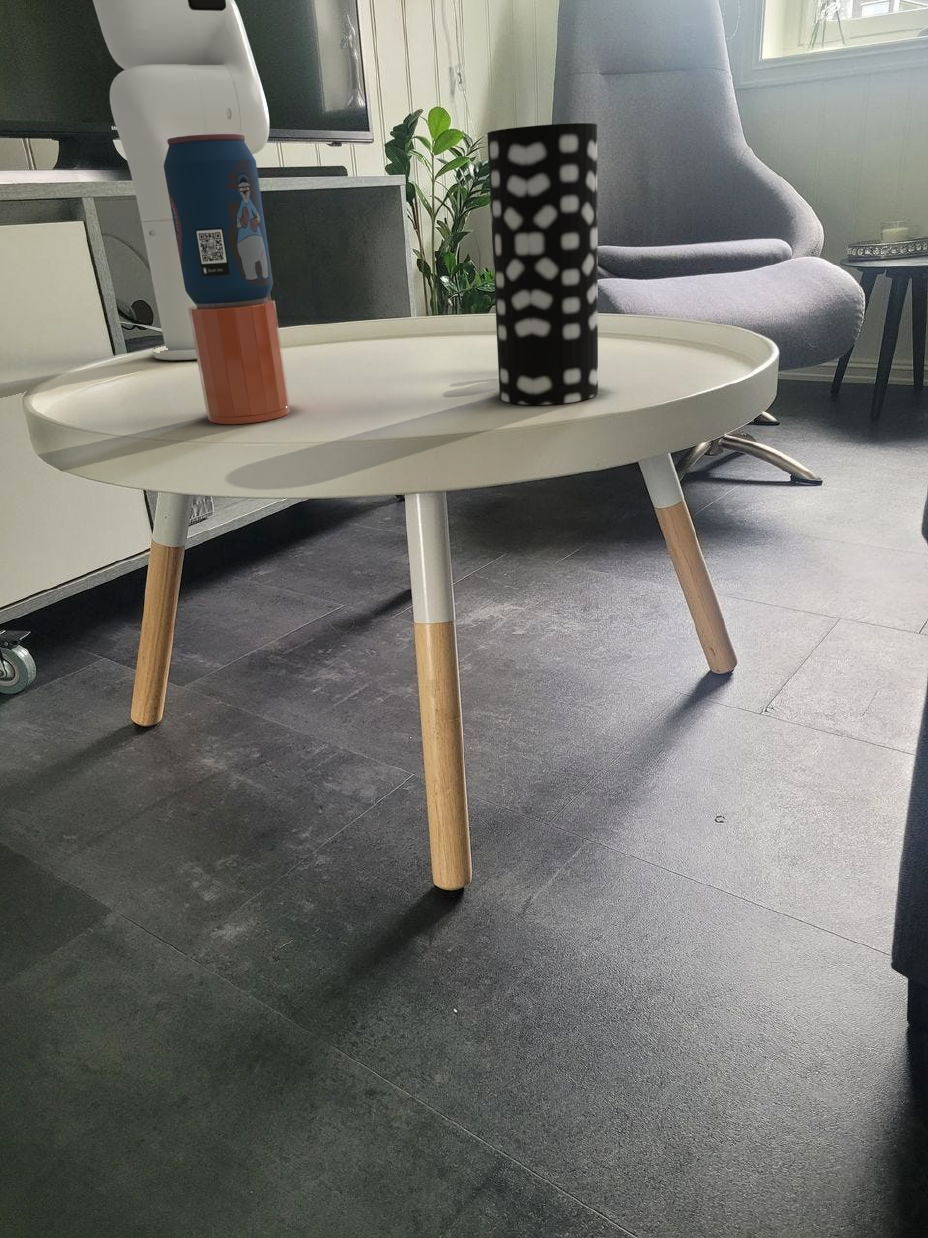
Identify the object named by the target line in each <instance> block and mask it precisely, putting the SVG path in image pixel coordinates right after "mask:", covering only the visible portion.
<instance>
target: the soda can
mask: <svg viewBox="0 0 928 1238" xmlns="http://www.w3.org/2000/svg"><path fill="white" fill-rule="evenodd" d="M244 141H245V137H244V135H239V134H208V135H192V136H182V137H174V138H170V139H168V140H167V142H168V145H169V148H168V151H167V155H166V158H165V162H164V171H165V177H166V183H167V189H168V194H169V200H170V206H171V212H172V217H173V223H174V229H175V234H176V240H177V246H178V252H179V257H180V263H181V269H182V274H183V280H184V286H185V291H186V292H187V294H188V295H189V297H190V298H191V299H192V301H193V302H194V303H195V305H196V306H197V307H198V308H223V307H236V306H245V305H253V304H259V303H264V302H266V301H267V300H269V296H270V294H271V291H272V289H273V286H274V285H273V284H274V280H273V274H272V272H273V271H272V266H271V257H270V250H269V243H268V237H267V236H268V235H267V230H266V223H265V217H264V209H263V203H262V194H261V188H260V181H259V180H260V179H259V174H258V167H257V161H256V159H255V157H254V156H253V155H254V154H252V153H251V152H250V150H249V149H248V147H247V145H246V144H245V142H244Z"/></svg>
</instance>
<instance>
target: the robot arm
mask: <svg viewBox="0 0 928 1238" xmlns="http://www.w3.org/2000/svg"><path fill="white" fill-rule="evenodd" d="M92 3H93V6H94V9H95V13H96V15H97V16H96V17H97V20H98V23H99V26H100V30H101V33H102V36H103V39H104V42H105V44H106V47H107V49H108V52H109V54H110V56H111V57H112V59H113V60H114V62H115V63H116V64H117V65H118V66H119V67H120V68H122V69H123V70H122V71H120V72H119V73H118V74H117V75H116V76H115V77H114V78H113V80H112V82H111V85H110V87H109V88H110V89H109V105H110V110H111V114H112V118H113V121H114V125H115V127H116V131H117V134H118V136H119V140H120V143H121V146H122V148H123V149H122V150H123V152H124V155H125V158H126V161H127V166H128V168H129V171H130V176H131V180H132V184H133V188H134V194H135V198H136V201H137V202H136V203H137V206H138V207H137V208H138V212H139V218H140V223H141V228H142V232H143V239H144V243H145V248H146V249H145V250H146V255H147V258H148V264H149V270H150V275H151V280H152V285H153V292H154V295H155V301H156V307H157V312H158V317H159V323H160V328H161V332H162V338H163V344H160V345H157V346H154V347H153V348H158V347H161V346H166V348H168V350H164V351H160V353H156V352H153V351H152V354H153V358H154V359H158V360H162V361H190V360H197V356H196V350H195V345H194V339H193V333H192V328H191V322H190V317H189V311H188V308H190V307H192V306H196V305H195V303H194V302H193V301H192V299H191V298H190V297H189V295H188V294H187V292H186V291H185V286H184V280H183V274H182V269H181V263H180V257H179V252H178V246H177V240H176V234H175V229H174V223H173V217H172V212H171V206H170V200H169V194H168V189H167V183H166V177H165V171H164V162H165V158H166V155H167V151H168V148H169V145H168V142H167V140H168V139H170V138H174V137H182V136H192V135H208V134H239V135H244V137H245V141H244V142H245V144H246V145H247V147H248V149H249V150H250V152H251V153H252V155H255V154H257V153H259V152H261V151H263V149H264V148H265V146H266V145H267V142H268V140H269V136H270V115H269V108H268V103H267V98H266V96H265V92H264V89H263V85H262V82H261V77H260V75H259V72H258V69H257V65H256V61H255V58H254V55H253V51H252V48H251V44H250V41H249V38H248V35H247V31H246V27H245V25H244V21H243V19H242V16H241V13H240V10H239V7H238V5H237V3H236V1H235V0H92Z"/></svg>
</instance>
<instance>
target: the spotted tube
mask: <svg viewBox="0 0 928 1238" xmlns="http://www.w3.org/2000/svg"><path fill="white" fill-rule="evenodd" d="M486 134H487V135H486V136H487V154H488V155H487V158H488V177H489V193H490V194H489V197H490V220H491V221H490V223H491V241H492V243H491V244H492V265H493V283H494V284H493V285H494V306H495V307H494V308H495V324H496V325H495V327H496V348H497V369H498V391H499V399H500V400H501V401H503V402H506V403H510V404H516V405H523V406H524V405H525V406H550V405H552V406H553V405H563V404H571V403H577V402H582V401H585V400H589V399H592V398H594V397H596V396H597V395H598V394H599V299H598V298H599V294H598V293H599V291H598V290H599V288H598V287H599V283H598V282H599V275H598V273H599V272H598V271H599V269H598V268H599V267H598V266H599V264H598V261H599V260H598V259H599V258H598V253H599V251H598V250H599V249H598V246H599V245H598V241H599V240H598V236H599V235H598V124H597V123H593V122H590V123H589V122H588V123H587V122H582V123H581V122H580V123H579V122H578V123H577V122H576V123H575V122H574V123H571V122H570V123H555V124H554V123H551V124H540V125H539V124H537V125H528V126H517V127H509V128H503V129H502V128H501V129H496V130H492V131H488V132H487V133H486Z"/></svg>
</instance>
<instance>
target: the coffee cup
mask: <svg viewBox="0 0 928 1238" xmlns="http://www.w3.org/2000/svg"><path fill="white" fill-rule="evenodd" d="M188 311H189V317H190V322H191V328H192V333H193V339H194V345H195V350H196V356H197V359H196V361H197V366H198V372H199V373H198V374H199V377H200V384H201V390H202V395H203V400H204V407H205V413H207V419H208V421H209V422H210V423H212V424H219V425H245V424H255V423H262V422H266V421H272V420H276V419H279V418H282V417H285V416H287V415H288V414H290V400H289V392H288V386H287V377H286V371H285V364H284V357H283V349H282V342H281V335H280V328H279V321H278V320H279V319H278V314H277V307H276V301H275V300H273V299H267V301H266V302H264V303H259V304H253V305H245V306H236V307H223V308H198V307H197V306H192V307H190V308H188Z"/></svg>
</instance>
